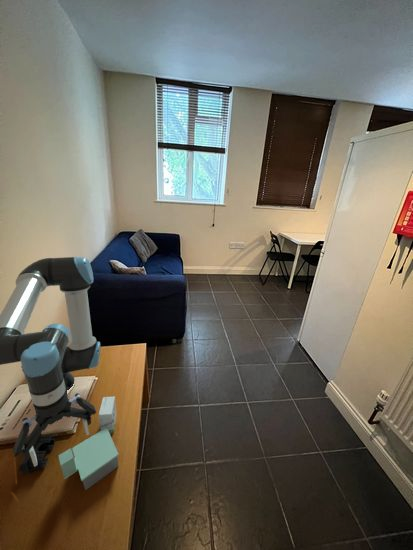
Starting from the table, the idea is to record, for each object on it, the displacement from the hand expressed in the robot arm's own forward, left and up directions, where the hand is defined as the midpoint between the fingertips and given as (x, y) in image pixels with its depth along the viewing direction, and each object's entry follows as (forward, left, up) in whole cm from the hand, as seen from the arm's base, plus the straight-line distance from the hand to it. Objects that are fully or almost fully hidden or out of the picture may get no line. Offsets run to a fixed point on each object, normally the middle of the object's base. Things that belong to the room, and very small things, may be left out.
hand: (62, 445), depth 69 cm
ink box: (-12, +17, -20) cm, 29 cm away
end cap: (-15, -7, -20) cm, 26 cm away
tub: (0, +8, -20) cm, 21 cm away
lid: (0, +6, -14) cm, 15 cm away
